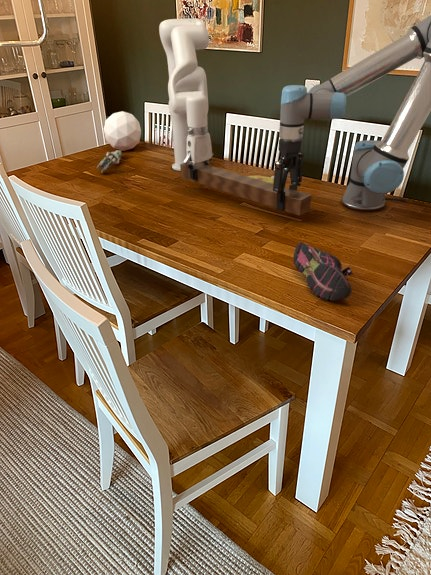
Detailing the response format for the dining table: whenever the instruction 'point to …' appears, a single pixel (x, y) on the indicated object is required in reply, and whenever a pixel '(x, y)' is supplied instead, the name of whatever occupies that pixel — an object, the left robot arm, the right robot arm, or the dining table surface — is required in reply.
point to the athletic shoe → (322, 272)
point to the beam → (248, 188)
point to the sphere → (122, 131)
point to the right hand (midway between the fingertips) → (286, 206)
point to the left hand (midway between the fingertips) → (199, 176)
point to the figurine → (110, 160)
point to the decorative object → (263, 178)
